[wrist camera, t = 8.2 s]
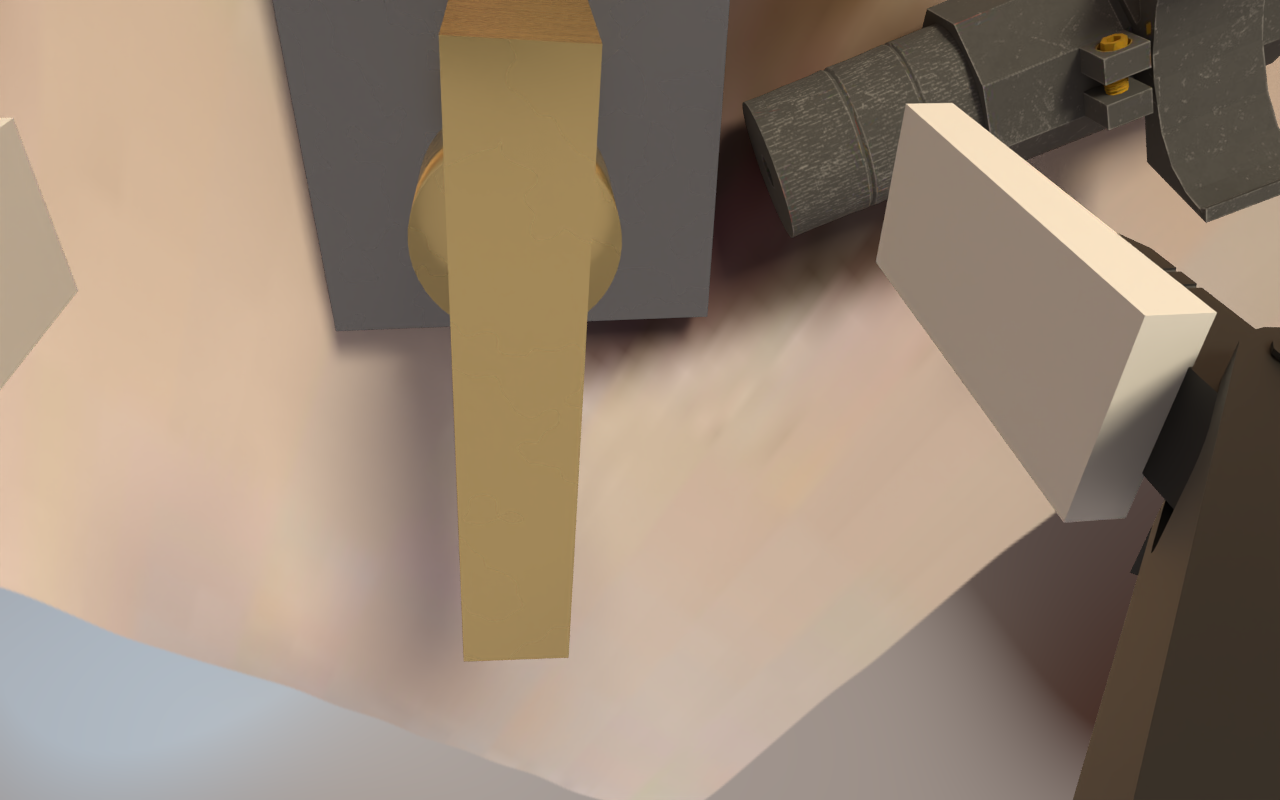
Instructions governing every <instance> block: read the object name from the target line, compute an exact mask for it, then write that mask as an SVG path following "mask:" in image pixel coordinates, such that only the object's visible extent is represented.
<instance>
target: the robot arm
mask: <svg viewBox="0 0 1280 800" xmlns="http://www.w3.org/2000/svg"><path fill="white" fill-rule="evenodd" d="M876 263H877V264H878V266H879V267H880V269H881V270H882V271H883V273H884V274H885V275H886V277H887V278H888V280H889V281H890V282H891V284H892V285H893V287H894V288H895V289H896V291H897V292H898V293H899V295H900V296H901V298H902V299H903V300H904V302H905V303H906V305H907V306H908V307H909V309H910V310H911V311H912V313H913V314H914V316H915V317H916V318H917V320H918V321H919V323H920V324H921V325H922V327H923V328H924V329H925V331H926V332H927V334H928V335H929V336H930V338H931V339H932V341H933V342H934V343H935V345H936V346H937V347H938V349H939V350H940V352H941V353H942V354H943V356H944V357H945V359H946V360H947V361H948V363H949V364H950V365H951V367H952V368H953V370H954V371H955V372H956V374H957V375H958V377H959V378H960V379H961V381H962V382H963V383H964V385H965V386H966V388H967V389H968V390H969V392H970V393H971V395H972V396H973V397H974V399H975V400H976V401H977V403H978V404H979V406H980V407H981V408H982V410H983V411H984V413H985V414H986V415H987V417H988V418H989V419H990V421H991V422H992V424H993V425H994V426H995V428H996V429H997V431H998V432H999V433H1000V435H1001V436H1002V437H1003V439H1004V440H1005V442H1006V443H1007V444H1008V446H1009V447H1010V449H1011V450H1012V451H1013V453H1014V454H1015V455H1016V457H1017V458H1018V460H1019V461H1020V462H1021V464H1022V465H1023V467H1024V468H1025V469H1026V471H1027V472H1028V473H1029V475H1030V476H1031V478H1032V479H1033V480H1034V482H1035V483H1036V485H1037V486H1038V487H1039V489H1040V490H1041V491H1042V493H1043V494H1044V496H1045V497H1046V498H1047V500H1048V501H1049V503H1050V504H1051V505H1052V507H1053V508H1054V509H1055V511H1056V512H1057V514H1058V515H1059V516H1060V518H1061V519H1062V520H1063V522H1077V521H1092V520H1106V519H1120V518H1126V516H1127V514H1128V511H1129V509H1130V507H1131V505H1132V503H1133V500H1134V498H1135V496H1136V494H1137V491H1138V489H1139V487H1140V484H1141V482H1142V480H1143V478H1144V476H1145V477H1146V478H1147V480H1148V481H1149V482H1150V483H1151V484H1152V485H1153V486H1154V487H1155V489H1156V490H1157V491H1158V492H1159V493H1160V494H1161V495H1162V497H1163V498H1164V499H1165V500H1164V502H1163V504H1162V506H1161V508H1160V510H1159V512H1158V514H1157V517H1156V519H1155V521H1154V523H1153V525H1152V527H1151V529H1150V531H1149V534H1148V536H1147V538H1146V540H1145V542H1144V544H1143V546H1142V549H1141V551H1140V553H1139V555H1138V557H1137V559H1136V561H1135V564H1134V565H1133V568H1132V570H1131V573H1133V574H1135V575H1138V577H1137V581H1136V584H1135V587H1134V591H1133V594H1132V598H1131V602H1130V605H1129V608H1128V612H1127V615H1126V619H1125V622H1124V625H1123V629H1122V632H1121V636H1120V639H1119V643H1118V646H1117V650H1116V653H1115V656H1114V660H1113V664H1112V667H1111V671H1110V674H1109V677H1108V681H1107V684H1106V688H1105V692H1104V694H1103V698H1102V702H1101V705H1100V709H1099V712H1098V715H1097V719H1096V722H1095V726H1094V729H1093V732H1092V736H1091V740H1090V743H1089V746H1088V750H1087V753H1086V757H1085V760H1084V764H1083V767H1082V770H1081V774H1080V777H1079V781H1078V785H1077V788H1076V791H1075V795H1074V798H1073V800H1280V328H1279V327H1263V328H1259V329H1255V328H1253V327H1252V326H1251V325H1249V324H1248V323H1247V322H1245V321H1244V320H1243V319H1242V318H1240V317H1239V316H1238V315H1236V314H1235V313H1234V312H1233V311H1231V310H1230V309H1229V308H1227V307H1226V306H1225V305H1224V304H1222V303H1221V302H1220V301H1218V300H1217V299H1216V298H1214V297H1213V296H1212V295H1211V294H1209V293H1208V292H1207V291H1205V290H1204V289H1203V288H1196V283H1195V282H1194V281H1193V280H1191V279H1190V278H1189V277H1187V276H1186V275H1185V274H1183V273H1182V272H1176V267H1174V266H1173V265H1172V264H1171V263H1169V262H1168V261H1167V260H1165V259H1164V258H1163V257H1162V256H1160V255H1159V254H1158V253H1156V252H1155V251H1154V250H1152V249H1151V248H1149V247H1147V246H1145V245H1143V244H1140V243H1138V242H1136V241H1134V240H1132V239H1129V238H1127V237H1125V236H1123V235H1121V234H1118V233H1116V232H1115V231H1113V230H1112V229H1111V228H1110V227H1108V226H1107V225H1106V224H1105V223H1103V222H1102V221H1101V220H1099V219H1098V218H1097V217H1096V216H1094V215H1093V214H1092V213H1091V212H1089V211H1088V210H1087V209H1086V208H1084V207H1083V206H1082V205H1081V204H1079V203H1078V202H1077V201H1076V200H1074V199H1073V198H1072V197H1070V196H1069V195H1068V194H1067V193H1065V192H1064V191H1063V190H1062V189H1060V188H1059V187H1058V186H1057V185H1055V184H1054V183H1053V182H1052V181H1050V180H1049V179H1048V178H1047V177H1045V176H1044V175H1043V174H1041V173H1040V172H1039V171H1038V170H1036V169H1035V168H1034V167H1033V166H1031V165H1030V164H1029V163H1028V162H1026V161H1025V160H1024V159H1023V158H1021V157H1020V156H1019V155H1018V154H1016V153H1015V152H1014V151H1012V150H1011V149H1010V148H1009V147H1007V146H1006V145H1005V144H1004V143H1002V142H1001V141H1000V140H999V139H997V138H996V137H995V136H994V135H992V134H991V133H990V132H988V131H987V130H986V129H985V128H983V127H982V126H981V125H980V124H978V123H977V122H976V121H975V120H973V119H972V118H971V117H970V116H968V115H967V114H966V113H965V112H963V111H962V110H961V109H959V108H958V107H957V106H956V105H954V104H953V103H919V104H906V106H905V111H904V117H903V122H902V127H901V132H900V138H899V143H898V148H897V153H896V159H895V164H894V169H893V174H892V180H891V185H890V190H889V196H888V201H887V206H886V211H885V217H884V222H883V227H882V232H881V238H880V243H879V248H878V253H877V259H876ZM77 292H78V289H77V286H76V283H75V281H74V278H73V275H72V273H71V270H70V267H69V265H68V262H67V259H66V257H65V254H64V251H63V249H62V246H61V243H60V241H59V238H58V235H57V233H56V230H55V227H54V225H53V222H52V219H51V217H50V214H49V211H48V209H47V206H46V203H45V201H44V198H43V195H42V193H41V190H40V187H39V185H38V182H37V179H36V177H35V174H34V171H33V169H32V166H31V164H30V161H29V158H28V156H27V153H26V150H25V148H24V145H23V142H22V140H21V137H20V134H19V132H18V129H17V126H16V124H15V121H14V118H0V390H1V388H2V387H3V386H4V385H5V383H6V382H7V381H8V380H9V378H10V377H11V376H12V374H13V373H14V372H15V371H16V369H17V368H18V367H19V365H20V364H21V363H22V362H23V360H24V359H25V358H26V357H27V355H28V354H29V353H30V351H31V350H32V349H33V348H34V346H35V345H36V344H37V343H38V341H39V340H40V339H41V337H42V336H43V335H44V334H45V332H46V331H47V330H48V328H49V327H50V326H51V325H52V323H53V322H54V321H55V320H56V318H57V317H58V316H59V314H60V313H61V312H62V311H63V309H64V308H65V307H66V306H67V304H68V303H69V302H70V300H71V299H72V298H73V297H74V295H75V294H76V293H77Z"/></svg>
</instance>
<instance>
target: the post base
mask: <svg viewBox="0 0 1280 800" xmlns="http://www.w3.org/2000/svg"><path fill="white" fill-rule="evenodd" d="M588 2H589V5H590V8H591V11H592V14H593V17H594V20H595V23H596V26H597V29H598V32H599V35H600V38H601V41H602V61H601V79H600V97H599V115H598V133H597V147H598V148H599V150H600V152H601V154H602V156H603V159H604V161H605V164H606V167H607V171H608V174H609V178H610V182H611V187H612V191H613V195H614V199H615V203H616V207H617V211H618V216H619V220H620V225H621V232H622V250H621V257H620V262H619V265H618V269H617V272H616V274H615V276H614V279H613V281H612V283H611V285H610V286H609V288H608V290H607V291H606V293H605V294H604V295H603V297H602V298H601V299H600V300H599V302H598V303H597V304H596V305H595V306H594V307H593V308H592V309H590V310H589V311H588V314H587V321H604V320H630V319H656V318H681V317H707V312H708V298H709V284H710V270H711V256H712V242H713V228H714V214H715V199H716V185H717V171H718V157H719V143H720V129H721V115H722V101H723V87H724V73H725V59H726V45H727V31H728V16H729V2H730V0H588ZM447 3H448V0H273V6H274V11H275V16H276V21H277V26H278V32H279V37H280V42H281V47H282V52H283V57H284V63H285V68H286V73H287V78H288V83H289V89H290V94H291V99H292V104H293V109H294V115H295V120H296V125H297V130H298V135H299V141H300V146H301V151H302V156H303V161H304V167H305V172H306V177H307V182H308V187H309V193H310V198H311V203H312V208H313V213H314V219H315V224H316V229H317V234H318V239H319V245H320V250H321V255H322V260H323V265H324V271H325V276H326V281H327V286H328V291H329V297H330V302H331V307H332V312H333V317H334V322H335V328H336V331H348V330H374V329H400V328H425V327H450V315H449V314H448V313H446V312H445V311H444V310H442V309H441V308H440V307H439V306H438V305H437V304H436V303H435V302H434V301H433V300H432V298H431V297H430V296H429V295H428V294H427V292H426V291H425V290H424V288H423V286H422V285H421V283H420V281H419V280H418V278H417V275H416V273H415V271H414V269H413V266H412V262H411V259H410V255H409V248H408V224H409V218H410V213H411V208H412V204H413V200H414V195H415V191H416V186H417V182H418V178H419V173H420V169H421V165H422V162H423V159H424V156H425V153H426V151H427V149H428V147H429V145H430V143H431V142H432V140H433V139H434V137H435V136H436V134H437V133H438V132H439V131H440V130H441V129H442V105H441V80H440V55H439V32H440V28H441V25H442V21H443V17H444V14H445V10H446V6H447Z"/></svg>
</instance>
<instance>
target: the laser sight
mask: <svg viewBox="0 0 1280 800" xmlns="http://www.w3.org/2000/svg"><path fill="white" fill-rule="evenodd" d="M1279 56H1280V0H947V1H945V2H942V3H940V4H938V5H935V6H933V7H931V8H928V9H927V11H926V15H925V19H924V23H923V27H922V29H920V30H918V31H915V32H913V33H910V34H908V35H906V36H903V37H901V38H898V39H896V40H893V41H890V42H887V43H885V44H884V45H880V46H878V47H875V48H873V49H871V50H869V51H867V52H865V53H862V54H860V55H858V56H855V57H853V58H850V59H848V60H846V61H843V62H840V63H838V64H835V65H832V66H830V67H827V68H825V70H824V71H822V70H820V71H818V72H816V73H814V74H812V75H810V76H807V77H805V78H802V79H800V80H798V81H795V82H793V83H790V84H788V85H785V86H782V87H780V88H778V89H776V90H773V91H771V92H769V93H766V94H764V95H762V96H759V97H757V98H754V99H751V100H749V101H746V102H743V113H744V118H745V123H746V127H747V130H748V134H749V137H750V141H751V144H752V147H753V150H754V153H755V156H756V159H757V162H758V165H759V168H760V171H761V174H762V176H763V179H764V182H765V184H766V187H767V189H768V192H769V194H770V197H771V199H772V202H773V204H774V206H775V209H776V211H777V213H778V215H779V218H780V220H781V222H782V224H783V226H784V228H785V229H786V231H787V233H788V234H789V236H790V237H792V238H793V237H795V236H797V235H799V234H802V233H804V232H806V231H809V230H811V229H813V228H816V227H819V226H821V225H824V224H826V223H829V222H831V221H834V220H836V219H839V218H841V217H844V216H846V215H848V214H851V213H853V212H856V211H859V210H862V209H865V208H868V207H869V206H870V205H876V204H878V203H880V202H882V201H885V200H887V199H888V196H889V190H890V185H891V180H892V174H893V169H894V164H895V159H896V153H897V148H898V143H899V138H900V132H901V127H902V122H903V117H904V111H905V106H906V104H919V103H953V104H954V105H956V106H957V107H958V108H959V109H961V110H962V111H963V112H965V113H966V114H967V115H968V116H970V117H971V118H972V119H973V120H975V121H976V122H977V123H978V124H980V125H981V126H982V127H983V128H985V129H986V130H987V131H988V132H990V133H991V134H992V135H994V136H995V137H996V138H997V139H999V140H1000V141H1001V142H1002V143H1004V144H1005V145H1006V146H1007V147H1009V148H1010V149H1011V150H1012V151H1014V152H1015V153H1016V154H1018V155H1019V156H1020V157H1021V158H1023V159H1024V160H1028V159H1030V158H1033V157H1035V156H1038V155H1040V154H1043V153H1045V152H1048V151H1050V150H1053V149H1055V148H1058V147H1061V146H1063V145H1066V144H1068V143H1071V142H1073V141H1076V140H1078V139H1081V138H1083V137H1086V136H1088V135H1091V134H1093V133H1096V132H1099V131H1101V130H1104V129H1105V128H1106V129H1107V130H1111V129H1113V128H1116V127H1119V126H1121V125H1124V124H1126V123H1129V122H1131V121H1134V120H1136V119H1139V118H1141V117H1144V116H1145V125H1146V147H1147V162H1148V163H1149V164H1150V165H1151V167H1152V168H1153V169H1154V170H1155V171H1156V172H1157V173H1158V174H1159V175H1160V176H1161V177H1162V178H1163V179H1164V180H1165V181H1166V182H1167V183H1168V184H1169V185H1170V186H1171V187H1172V188H1173V189H1174V190H1175V191H1176V192H1177V193H1178V194H1179V195H1180V196H1181V197H1182V198H1183V200H1184V201H1185V202H1186V203H1187V204H1188V205H1189V206H1190V207H1191V208H1192V209H1193V210H1194V211H1195V212H1196V213H1197V214H1198V215H1199V216H1200V217H1201V218H1202V219H1203V220H1204V221H1205V222H1206V223H1207V222H1210V221H1212V220H1215V219H1218V218H1220V217H1223V216H1225V215H1228V214H1231V213H1233V212H1236V211H1239V210H1241V209H1244V208H1247V207H1249V206H1252V205H1255V204H1257V203H1260V202H1262V201H1265V200H1268V199H1270V198H1273V197H1276V196H1278V195H1280V129H1279V127H1278V124H1277V121H1276V117H1275V114H1274V110H1273V107H1272V103H1271V100H1270V96H1269V93H1268V86H1267V76H1266V65H1268V64H1271V63H1273V62H1274V61H1275V60H1276V59H1277V58H1278V57H1279Z"/></svg>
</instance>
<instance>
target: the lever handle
mask: <svg viewBox="0 0 1280 800" xmlns="http://www.w3.org/2000/svg"><path fill="white" fill-rule="evenodd" d="M439 55H440V80H441V105H442V129H441V130H440V131H439V132H438V133H437V134H436V136H435V137H434V139H433V140H432V142H431V143H430V145H429V147H428V149H427V151H426V153H425V156H424V159H423V162H422V165H421V169H420V173H419V178H418V182H417V186H416V191H415V195H414V200H413V204H412V208H411V213H410V218H409V224H408V248H409V255H410V259H411V262H412V266H413V269H414V271H415V273H416V275H417V278H418V280H419V281H420V283H421V285H422V286H423V288H424V290H425V291H426V292H427V294H428V295H429V296H430V297H431V298H432V300H433V301H434V302H435V303H436V304H437V305H438V306H439V307H440V308H441V309H442V310H444V311H445V312H446V313H448V314H449V315H450V330H451V355H452V380H453V405H454V430H455V455H456V480H457V505H458V530H459V555H460V580H461V605H462V630H463V655H464V661H490V660H516V659H543V658H568V656H569V638H570V620H571V602H572V584H573V566H574V548H575V530H576V512H577V494H578V476H579V458H580V440H581V422H582V404H583V386H584V368H585V350H586V332H587V314H588V311H589V310H590V309H592V308H593V307H594V306H595V305H596V304H597V303H598V302H599V300H600V299H601V298H602V297H603V295H604V294H605V293H606V291H607V290H608V288H609V286H610V285H611V283H612V281H613V279H614V276H615V274H616V272H617V269H618V265H619V262H620V257H621V250H622V232H621V225H620V220H619V216H618V211H617V207H616V203H615V199H614V195H613V191H612V187H611V182H610V178H609V174H608V171H607V167H606V164H605V161H604V159H603V156H602V154H601V152H600V150H599V148H598V147H597V133H598V115H599V97H600V79H601V61H602V41H601V38H600V35H599V32H598V29H597V26H596V23H595V20H594V17H593V14H592V11H591V8H590V5H589V2H588V0H448V3H447V6H446V10H445V14H444V17H443V21H442V25H441V28H440V32H439Z"/></svg>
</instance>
